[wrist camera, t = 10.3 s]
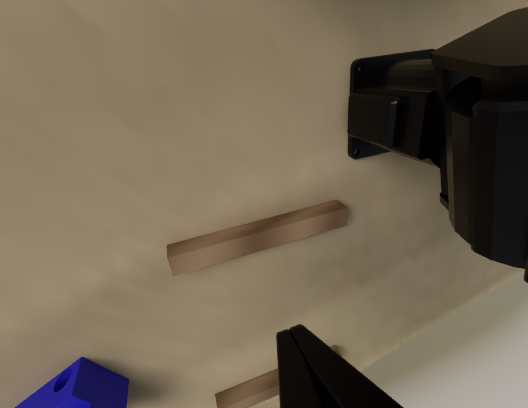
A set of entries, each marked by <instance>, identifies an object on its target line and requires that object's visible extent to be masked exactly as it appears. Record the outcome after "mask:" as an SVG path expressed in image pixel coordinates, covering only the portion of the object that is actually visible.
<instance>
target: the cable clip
mask: <svg viewBox="0 0 528 408" xmlns="http://www.w3.org/2000/svg"><path fill="white" fill-rule="evenodd" d="M128 384H129V379H127V378H125V377H123V376H121V375H119V374H116V373H114V372H112V371H110V370H108V369H106V368H104V367H102V366H100V365H98V364H96V363H93V362H91V361H89V360H87V359H85V358H83V357H81V358H79V359H78V360H77V361H76V362H74V363H73V364H72V365H70V366H69V367H68V368H66V369H65V370H64V371H62V372H61V373H60V374H58V375H57V376H56V377H55V378H53V379H52V380H51V381H49V382H48V383H47V384H45V385H44V386H43V387H41V388H40V389H39V390H37V391H36V392H35V393H33V394H32V395H31V396H30V397H28V398H27V399H26V400H24V401H23V402H22V403H20V404H19V405H18V406H16V407H15V408H126V405H127V395H128Z"/></svg>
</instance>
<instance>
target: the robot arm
mask: <svg viewBox="0 0 528 408" xmlns="http://www.w3.org/2000/svg"><path fill="white" fill-rule="evenodd" d="M428 57H429V59H428ZM359 64H360V65H361V68H360V70H359V71H358V65H359ZM348 134H349V135H348V155H349V157H351V158H353V159H359V158H364V157H368V156H372V155H377V154H381V153H385V152H390V151H392V152H395V153H398V154H401V155H404V156H406V157H409V158H412V159H415V160H418V161H421V162H424V163H427V164H430V165H433V166H435V167H438V168H440V174H441V191H442V192H441V193H440V202H441V203H442V204H443V205H444V206H445V207H446V208H447V210H448V211H449V219H450V221H451V223H452V226H453V228H454V230H455V232H457V233H458V234H459V235H460V236H461V237H462V238H463V239H464V240H465V241H466V242H467V243H469V244H470V245H471V249H472V250H473V251H474V252H475V253H478V254H480V255H482V256H484V257H486V258H488V259H490V260H493V261H496V262H499V263H503V264H506V265H509V266H513V267H517V268H524V269H525V273H524V280H525V281H526V282H527V283H528V7H526V8H522V9H518V10H514V11H511V12H508V13H506V14H504V15H502V16H500V17H498V18H496V19H494V20H492V21H491V22H489V23H487V24H485V25H483V26H481V27H479V28H477V29H475V30H473V31H471V32H469V33H467V34H465V35H464V36H462V37H460V38H458V39H456V40H454V41H452V42H450V43H448V44H446V45H444V46H442V47H440V48H438V49H437V50H435V49H427V50H420V51H412V52H405V53H397V54H390V55H382V56H375V57H367V58H360V59H356V60H354V61H353V63H352V64H351V70H350V96H349V107H348ZM356 149H357V152H356V153H355V154H354V152H355V150H356ZM276 340H277V358H278V377H279V396H280V408H403V407H402V406H401V405H400V404H398V403H397V402H396V401H395V400H394V399H392V398H391V397H390V396H389V395H387V394H386V393H385V392H384V391H383V390H381V389H380V388H379V387H377V386H376V385H375V384H374V383H373V382H371V381H370V380H369V379H368V378H367V377H365V376H364V375H363V374H362V373H361V372H359V371H358V370H357V369H356V368H355V367H353V366H352V365H351V364H350V363H348V362H347V361H346V360H345V359H344V358H342V357H341V356H340V355H339V354H337V353H336V352H335V351H334V350H333V349H331V348H330V347H329V346H328V345H326V344H325V343H324V342H323V341H322V340H320V339H319V338H318V337H317V336H315V335H314V334H313V333H312V332H311V331H309V330H308V329H307V328H306V327H304V326H303V325H301V324H299V325H296V326H294V327H291V328H290V329H289V330H288V329H286V330H283V331H280V332H278V333H277V334H276Z"/></svg>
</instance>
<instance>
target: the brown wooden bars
mask: <svg viewBox="0 0 528 408" xmlns="http://www.w3.org/2000/svg"><path fill="white" fill-rule="evenodd" d="M347 216H348V208H347V207H346V206H345V205H343V204H342V203H340V202H339V201H338V200H334V201H331V202H327V203H323V204H319V205H316V206H312V207H308V208H304V209H301V210H297V211H293V212H290V213H286V214H282V215H278V216H275V217H271V218H267V219H263V220H260V221H256V222H252V223H248V224H245V225H241V226H237V227H233V228H230V229H226V230H222V231H218V232H215V233H211V234H207V235H204V236H200V237H196V238H192V239H189V240H185V241H181V242H177V243H174V244H170V245H167V258H168V261H169V264H170V267H171V270H172V273H173V276H176V275H180V274H183V273H187V272H190V271H193V270H197V269H200V268H203V267H207V266H210V265H214V264H217V263H220V262H224V261H227V260H231V259H234V258H237V257H241V256H244V255H248V254H251V253H254V252H258V251H261V250H264V249H268V248H271V247H275V246H278V245H281V244H285V243H288V242H292V241H295V240H298V239H302V238H305V237H309V236H312V235H315V234H319V233H322V232H325V231H329V230H332V229H336V228H339V227H342V226H346V225H347ZM330 348H331V349H333V350H334V351H335V352H336V353H337V354H339V355H340V353H339V351H338V350H337V348H336V347H335V346H333V347H330ZM340 356H341V355H340ZM341 357H342V356H341ZM276 395H279V377H278V369H276V370H274V371H272V372H269V373H267V374H264V375H262V376H259V377H257V378H254V379H252V380H250V381H247V382H245V383H242V384H240V385H237V386H235V387H232V388H230V389H228V390H225V391H223V392H220V393H218V394H215V396H216V402H217V408H249V407H251V406H253V405H256V404H258V403H260V402H263V401H265V400H267V399H270V398H272V397H274V396H276Z"/></svg>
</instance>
